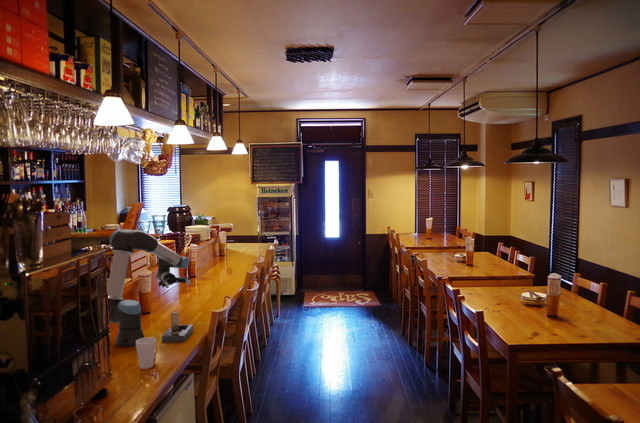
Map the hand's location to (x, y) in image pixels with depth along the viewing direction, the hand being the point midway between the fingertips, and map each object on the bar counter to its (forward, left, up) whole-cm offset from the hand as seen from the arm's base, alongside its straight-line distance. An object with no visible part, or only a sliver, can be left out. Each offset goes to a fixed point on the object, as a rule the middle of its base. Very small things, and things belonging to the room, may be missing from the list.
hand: (179, 284), depth 274 cm
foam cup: (+40, -39, -28) cm, 63 cm away
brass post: (+15, -11, -27) cm, 33 cm away
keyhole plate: (+12, -7, -28) cm, 31 cm away
